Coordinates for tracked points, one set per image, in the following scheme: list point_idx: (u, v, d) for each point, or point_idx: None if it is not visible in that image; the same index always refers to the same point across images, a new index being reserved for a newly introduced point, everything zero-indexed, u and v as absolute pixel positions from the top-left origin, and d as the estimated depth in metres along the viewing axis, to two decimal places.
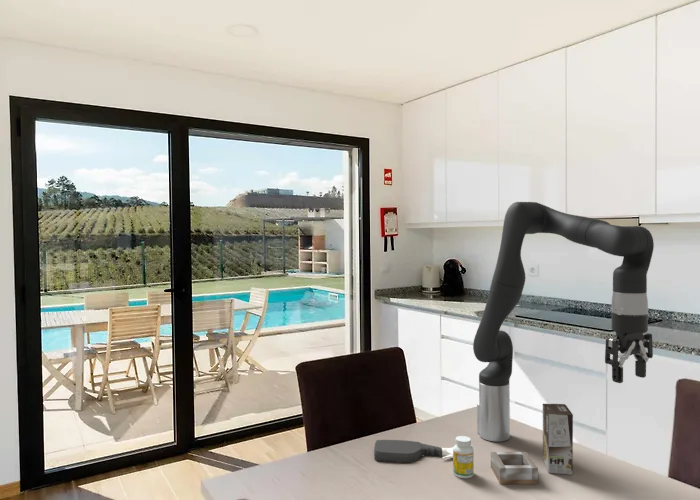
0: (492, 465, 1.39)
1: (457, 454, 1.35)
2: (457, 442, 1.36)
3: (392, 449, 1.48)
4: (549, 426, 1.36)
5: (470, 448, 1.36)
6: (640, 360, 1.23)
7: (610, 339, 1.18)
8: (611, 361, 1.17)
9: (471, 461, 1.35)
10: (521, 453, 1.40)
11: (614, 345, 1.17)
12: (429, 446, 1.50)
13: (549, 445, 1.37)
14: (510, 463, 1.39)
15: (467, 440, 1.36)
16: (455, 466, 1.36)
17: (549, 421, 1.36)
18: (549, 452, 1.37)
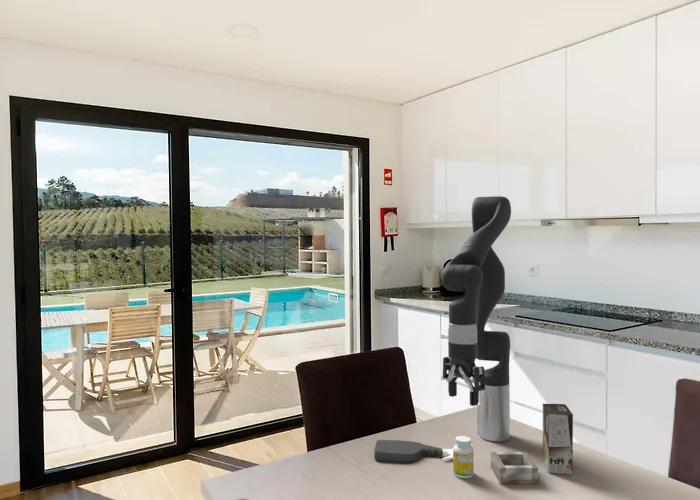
0: (492, 465, 1.39)
1: (457, 454, 1.35)
2: (457, 442, 1.36)
3: (392, 449, 1.48)
4: (549, 426, 1.36)
5: (470, 448, 1.36)
6: (453, 381, 1.40)
7: (479, 368, 1.30)
8: (482, 387, 1.30)
9: (471, 461, 1.35)
10: (521, 453, 1.40)
11: (484, 372, 1.31)
12: (430, 447, 1.50)
13: (549, 445, 1.37)
14: (510, 463, 1.39)
15: (467, 440, 1.36)
16: (455, 466, 1.36)
17: (549, 421, 1.36)
18: (549, 452, 1.37)
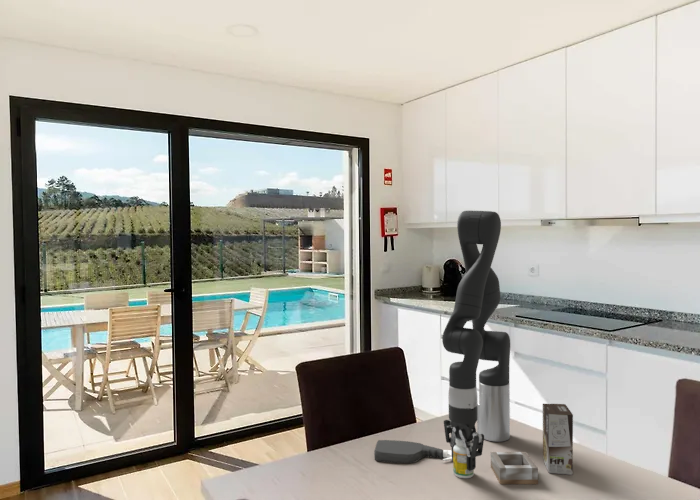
0: (492, 465, 1.39)
1: (457, 454, 1.35)
2: (457, 442, 1.36)
3: (393, 449, 1.47)
4: (549, 426, 1.36)
5: (470, 448, 1.36)
6: None
7: (479, 436, 1.31)
8: (479, 453, 1.32)
9: None
10: (521, 453, 1.40)
11: (483, 440, 1.31)
12: (430, 448, 1.49)
13: (549, 445, 1.37)
14: (510, 463, 1.39)
15: None
16: (455, 466, 1.36)
17: (549, 421, 1.36)
18: (549, 452, 1.37)
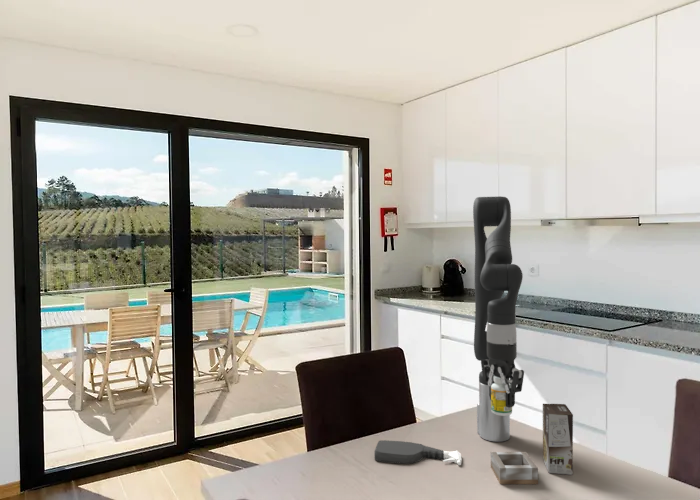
0: (492, 465, 1.39)
1: (495, 391, 1.34)
2: (495, 380, 1.35)
3: (393, 450, 1.47)
4: (549, 426, 1.36)
5: (509, 385, 1.34)
6: None
7: (519, 371, 1.29)
8: (518, 389, 1.31)
9: None
10: (521, 453, 1.40)
11: (523, 376, 1.30)
12: (431, 448, 1.49)
13: (549, 445, 1.37)
14: (510, 463, 1.39)
15: None
16: (493, 404, 1.35)
17: (549, 421, 1.36)
18: (549, 452, 1.37)
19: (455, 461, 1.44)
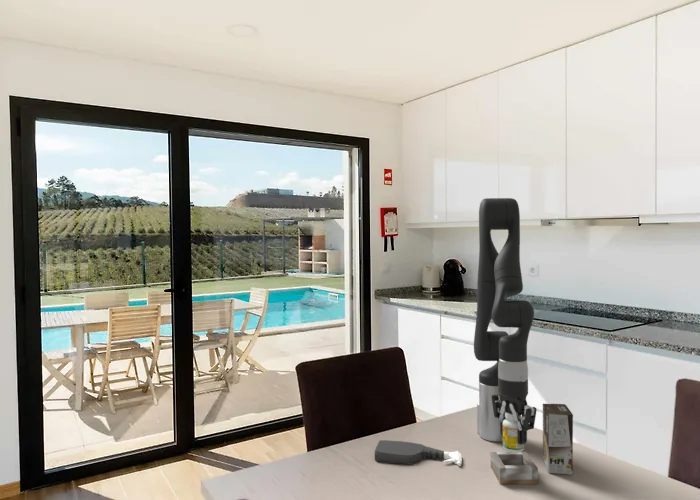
0: (492, 465, 1.39)
1: (507, 428, 1.34)
2: (507, 416, 1.35)
3: (393, 450, 1.47)
4: (549, 426, 1.36)
5: None
6: None
7: (532, 409, 1.29)
8: (531, 427, 1.31)
9: None
10: (521, 453, 1.40)
11: (535, 413, 1.30)
12: (431, 449, 1.48)
13: (549, 445, 1.37)
14: (510, 463, 1.39)
15: None
16: (505, 440, 1.34)
17: (549, 421, 1.36)
18: (549, 452, 1.37)
19: (455, 462, 1.43)
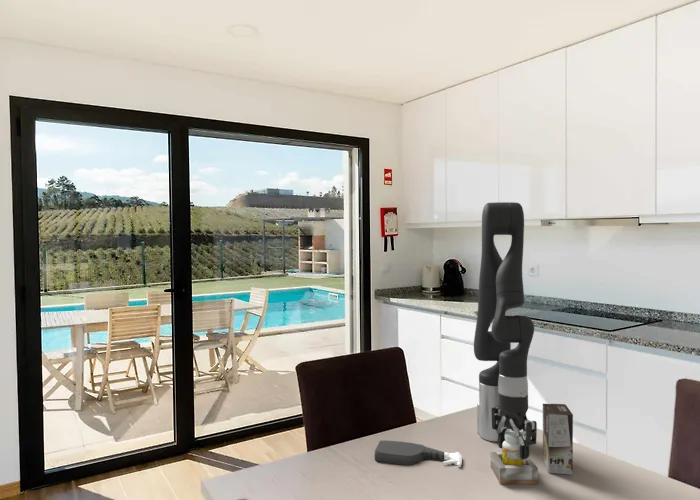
0: (492, 465, 1.39)
1: (507, 450, 1.34)
2: (507, 438, 1.35)
3: (393, 450, 1.47)
4: (549, 426, 1.36)
5: (520, 444, 1.35)
6: (503, 433, 1.39)
7: (532, 423, 1.29)
8: (533, 441, 1.30)
9: None
10: None
11: (536, 427, 1.30)
12: (432, 450, 1.48)
13: (549, 445, 1.37)
14: None
15: None
16: (505, 462, 1.35)
17: (549, 421, 1.36)
18: (549, 452, 1.37)
19: (455, 463, 1.43)
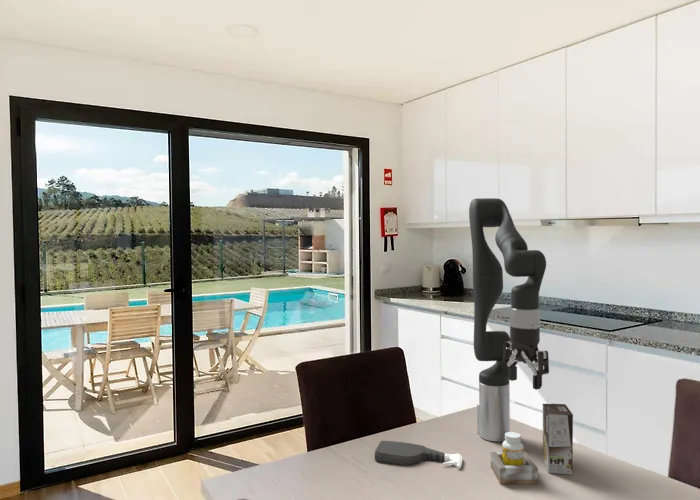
0: (492, 465, 1.39)
1: (507, 450, 1.34)
2: (507, 438, 1.35)
3: (393, 451, 1.47)
4: (549, 426, 1.36)
5: (520, 444, 1.35)
6: (513, 366, 1.42)
7: (543, 352, 1.32)
8: (546, 371, 1.32)
9: (521, 457, 1.34)
10: None
11: None
12: (432, 451, 1.47)
13: (549, 445, 1.37)
14: None
15: (517, 436, 1.35)
16: (505, 462, 1.35)
17: (549, 421, 1.36)
18: (549, 452, 1.37)
19: (455, 464, 1.42)
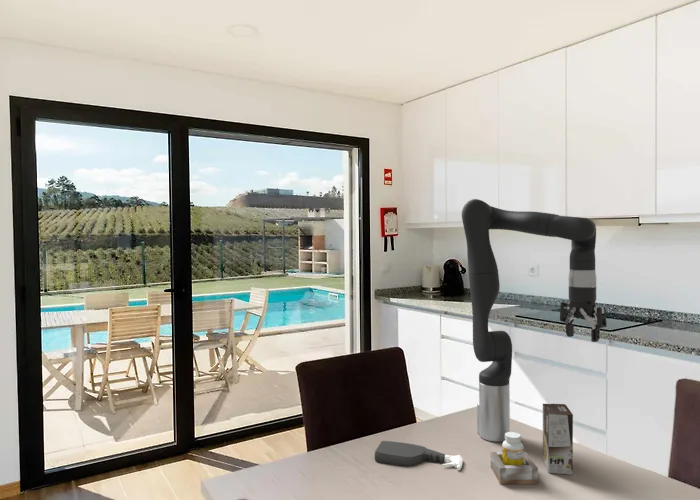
0: (492, 465, 1.39)
1: (507, 450, 1.34)
2: (507, 438, 1.35)
3: (393, 451, 1.46)
4: (549, 426, 1.36)
5: (520, 444, 1.35)
6: (570, 323, 1.57)
7: (601, 307, 1.47)
8: (604, 324, 1.47)
9: (521, 457, 1.34)
10: None
11: (605, 311, 1.47)
12: (432, 452, 1.47)
13: (549, 445, 1.37)
14: None
15: (517, 436, 1.35)
16: (505, 462, 1.35)
17: (549, 421, 1.36)
18: (549, 452, 1.37)
19: (455, 466, 1.41)
